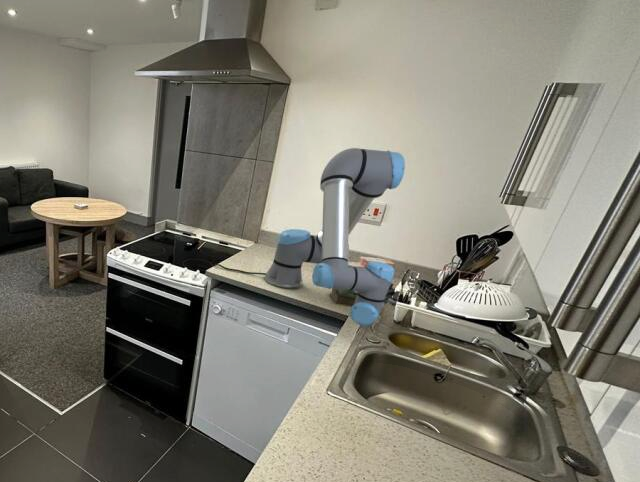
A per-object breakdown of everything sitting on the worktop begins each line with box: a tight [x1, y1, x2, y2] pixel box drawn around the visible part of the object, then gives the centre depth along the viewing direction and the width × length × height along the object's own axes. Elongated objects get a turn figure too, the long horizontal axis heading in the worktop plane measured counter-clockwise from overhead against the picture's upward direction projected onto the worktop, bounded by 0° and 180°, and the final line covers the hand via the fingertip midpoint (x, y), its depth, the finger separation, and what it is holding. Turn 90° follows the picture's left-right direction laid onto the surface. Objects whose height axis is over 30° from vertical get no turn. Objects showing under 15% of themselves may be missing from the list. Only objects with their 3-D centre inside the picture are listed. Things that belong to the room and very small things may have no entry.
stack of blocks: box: [348, 256, 396, 269], centre depth 176 cm, size 21×6×12 cm, turn 84°
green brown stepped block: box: [330, 289, 357, 307], centre depth 158 cm, size 9×9×6 cm
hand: (382, 284), depth 149 cm, fingers closed on bar, 5 cm apart
